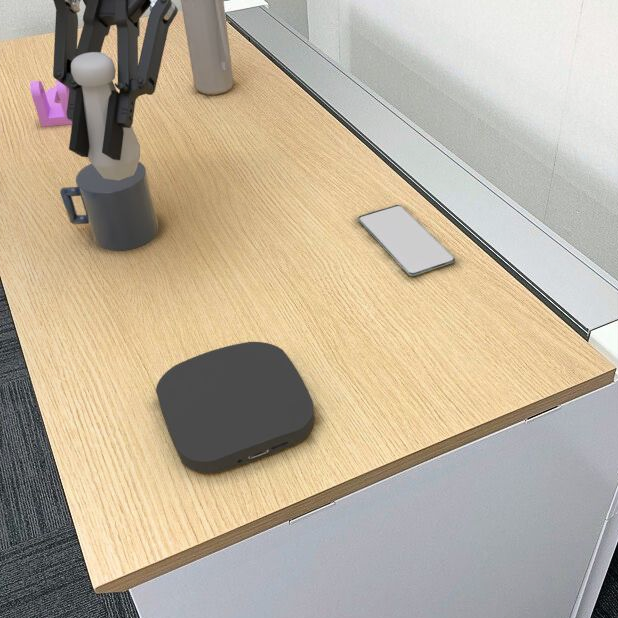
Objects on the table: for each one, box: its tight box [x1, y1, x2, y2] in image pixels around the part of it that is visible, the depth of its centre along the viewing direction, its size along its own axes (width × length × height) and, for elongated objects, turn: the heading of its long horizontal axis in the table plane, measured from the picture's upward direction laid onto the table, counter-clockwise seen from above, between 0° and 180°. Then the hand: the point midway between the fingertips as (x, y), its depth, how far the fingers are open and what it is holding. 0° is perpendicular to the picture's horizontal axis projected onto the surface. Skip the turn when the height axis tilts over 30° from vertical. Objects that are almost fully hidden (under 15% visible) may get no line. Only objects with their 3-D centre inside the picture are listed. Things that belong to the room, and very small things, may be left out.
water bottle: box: [180, 0, 235, 96], centre depth 126 cm, size 9×8×25 cm
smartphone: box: [358, 204, 456, 277], centre depth 100 cm, size 7×1×15 cm
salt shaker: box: [71, 52, 141, 180], centre depth 79 cm, size 6×6×13 cm
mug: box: [59, 161, 160, 251], centre depth 100 cm, size 12×9×9 cm
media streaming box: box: [155, 341, 315, 474], centre depth 77 cm, size 15×15×3 cm
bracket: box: [29, 79, 72, 128], centre depth 128 cm, size 13×6×7 cm, turn 11°
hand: (94, 154), depth 78 cm, fingers closed on salt shaker, 3 cm apart
